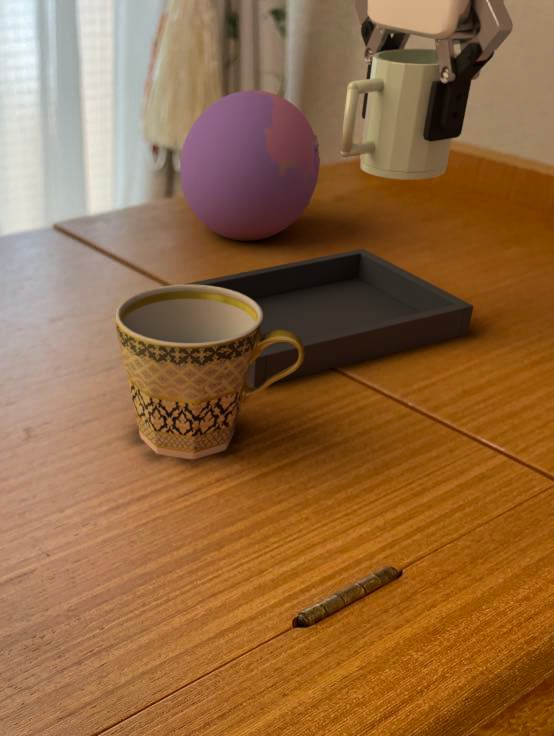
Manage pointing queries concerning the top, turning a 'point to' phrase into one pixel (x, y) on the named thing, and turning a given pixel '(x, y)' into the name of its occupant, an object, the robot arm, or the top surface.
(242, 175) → the decorative ball
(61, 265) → the top surface
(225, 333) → the ceramic cup
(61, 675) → the top surface
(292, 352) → the dark grey tray
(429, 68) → the mug
